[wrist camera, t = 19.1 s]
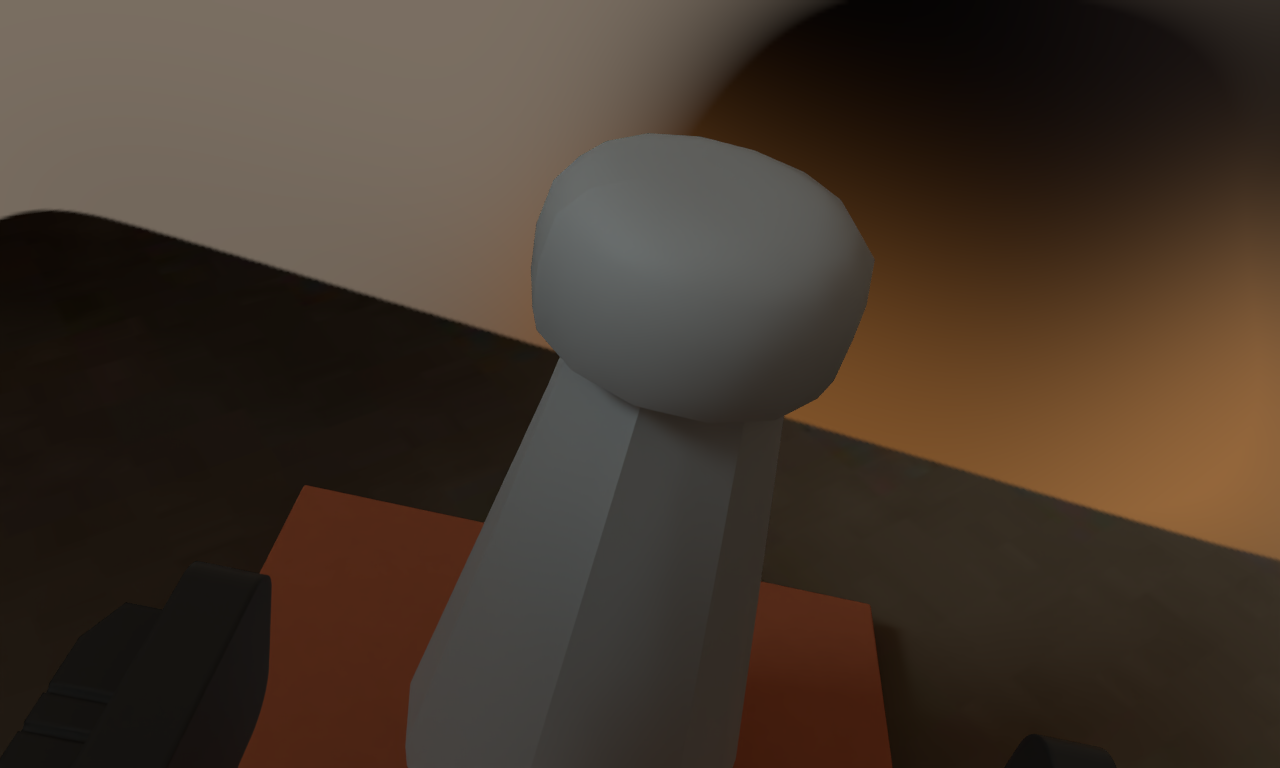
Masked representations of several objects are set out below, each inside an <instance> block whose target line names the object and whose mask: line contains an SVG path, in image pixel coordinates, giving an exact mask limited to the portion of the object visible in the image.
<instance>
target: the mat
mask: <svg viewBox="0 0 1280 768" xmlns="http://www.w3.org/2000/svg"><path fill="white" fill-rule="evenodd" d="M483 525H484V523H482V522H478V521H473V520H468V519H464V518H459V517H454V516H449V515H445V514H440V513H435V512H430V511H426V510H421V509H416V508H412V507H407V506H402V505H397V504H393V503H388V502H383V501H378V500H374V499H369V498H364V497H359V496H355V495H350V494H345V493H341V492H336V491H331V490H326V489H322V488H317V487H312V486H307V485H305V486H304V487H303V488H302V490H301V492H300V494H299V496H298V498H297V500H296V502H295V504H294V506H293V508H292V510H291V512H290V514H289V516H288V518H287V520H286V522H285V524H284V526H283V528H282V530H281V532H280V534H279V536H278V538H277V540H276V542H275V544H274V546H273V548H272V550H271V552H270V554H269V556H268V558H267V560H266V562H265V564H264V566H263V568H262V570H261V572H260V574H264V575H269V576H270V578H271V583H272V596H271V625H270V654H269V675H268V682H267V687H266V692H265V697H264V700H263V704H262V708H261V711H260V714H259V717H258V721H257V723H256V726H255V729H254V731H253V734H252V736H251V738H250V741H249V743H248V745H247V748H246V750H245V752H244V754H243V757H242V759H241V761H240V764H239V766H238V768H408V767H407V761H406V749H405V743H406V731H407V718H408V706H409V693H410V683H411V681H412V678H413V676H414V674H415V672H416V670H417V668H418V665H419V663H420V661H421V659H422V657H423V655H424V652H425V650H426V648H427V646H428V644H429V642H430V639H431V637H432V635H433V633H434V631H435V629H436V627H437V624H438V622H439V620H440V618H441V616H442V614H443V611H444V609H445V607H446V605H447V603H448V601H449V598H450V596H451V594H452V592H453V590H454V588H455V585H456V583H457V581H458V579H459V577H460V575H461V572H462V570H463V568H464V566H465V564H466V562H467V559H468V557H469V555H470V553H471V551H472V549H473V546H474V544H475V542H476V540H477V538H478V536H479V533H480V531H481V529H482V527H483ZM733 768H893V767H892V759H891V752H890V745H889V737H888V730H887V723H886V715H885V708H884V701H883V693H882V686H881V679H880V671H879V664H878V657H877V649H876V642H875V635H874V627H873V620H872V613H871V606H870V605H869V604H865V603H861V602H856V601H851V600H846V599H842V598H837V597H832V596H828V595H823V594H818V593H813V592H809V591H804V590H799V589H794V588H790V587H785V586H780V585H776V584H771V583H766V582H761V583H760V590H759V597H758V604H757V611H756V618H755V625H754V633H753V640H752V647H751V654H750V661H749V668H748V675H747V682H746V689H745V697H744V704H743V711H742V718H741V725H740V732H739V739H738V746H737V753H736V759H735V762H734V765H733Z"/></svg>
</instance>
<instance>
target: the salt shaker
mask: <svg viewBox="0 0 1280 768" xmlns="http://www.w3.org/2000/svg"><path fill="white" fill-rule="evenodd" d="M873 266H874V258H873V256H872V254H871V252H870V251H869V249H868V247H867V245H866V243H865V242H864V240H863V238H862V236H861V234H860V233H859V231H858V229H857V227H856V225H855V224H854V222H853V220H852V219H851V217H850V215H849V213H848V212H847V210H846V208H845V207H844V205H843V203H842V201H841V200H840V199H839V198H837V197H836V196H835V195H834V194H832V193H831V192H830V191H828V190H827V189H826V188H824V187H823V186H822V185H821V184H819V183H818V182H817V181H815V180H814V179H813V178H811V177H810V176H808V175H807V174H806V173H805V172H802V171H800V170H798V169H796V168H793V167H791V166H789V165H786V164H784V163H782V162H779V161H777V160H775V159H773V158H770V157H768V156H766V155H764V154H761V153H759V152H757V151H754V150H750V149H747V148H743V147H739V146H735V145H730V144H727V143H723V142H719V141H715V140H711V139H707V138H703V137H699V136H681V135H664V134H649V133H648V134H642V135H637V136H632V137H626V138H621V139H615V140H610V141H606V142H604V143H602V144H601V145H599V146H597V147H595V148H593V149H592V150H590V151H588V152H586V153H584V154H583V155H581V156H579V157H578V158H577V159H576V160H575V161H574V162H573V163H572V164H571V165H569V166H568V167H567V168H566V169H565V170H564V171H563V172H562V173H561V174H560V175H558V176H557V177H556V178H555V179H554V180H553V183H552V186H551V188H550V190H549V193H548V196H547V198H546V201H545V203H544V206H543V209H542V211H541V213H540V216H539V219H538V221H537V224H536V231H535V240H534V248H533V256H532V265H531V281H532V305H533V306H532V307H533V313H534V318H535V323H536V329H537V331H538V332H539V333H540V334H541V335H542V337H543V338H544V339H545V340H546V341H547V342H548V344H549V345H550V346H551V347H552V348H553V349H554V351H555V352H556V353H557V354H558V355H559V356H560V358H559V360H558V363H557V365H556V368H555V370H554V372H553V375H552V377H551V379H550V382H549V384H548V386H547V388H546V391H545V393H544V395H543V397H542V399H541V401H540V404H539V406H538V408H537V410H536V412H535V414H534V417H533V419H532V421H531V423H530V425H529V427H528V430H527V432H526V434H525V436H524V438H523V440H522V443H521V445H520V447H519V449H518V451H517V453H516V456H515V458H514V460H513V462H512V464H511V466H510V469H509V471H508V473H507V475H506V477H505V479H504V482H503V484H502V486H501V488H500V490H499V492H498V494H497V497H496V499H495V501H494V503H493V505H492V507H491V510H490V512H489V514H488V516H487V518H486V520H485V523H484V525H483V527H482V529H481V531H480V533H479V536H478V538H477V540H476V542H475V544H474V546H473V549H472V551H471V553H470V555H469V557H468V559H467V562H466V564H465V566H464V568H463V570H462V572H461V575H460V577H459V579H458V581H457V583H456V585H455V588H454V590H453V592H452V594H451V596H450V598H449V601H448V603H447V605H446V607H445V609H444V611H443V614H442V616H441V618H440V620H439V622H438V624H437V627H436V629H435V631H434V633H433V635H432V637H431V639H430V642H429V644H428V646H427V648H426V650H425V652H424V655H423V657H422V659H421V661H420V663H419V665H418V668H417V670H416V672H415V674H414V676H413V678H412V681H411V683H410V693H409V706H408V718H407V731H406V743H405V749H406V761H407V767H408V768H733V765H734V762H735V759H736V753H737V746H738V739H739V732H740V725H741V718H742V711H743V704H744V697H745V689H746V682H747V675H748V668H749V661H750V654H751V647H752V640H753V633H754V625H755V618H756V611H757V604H758V597H759V590H760V583H761V576H762V569H763V561H764V554H765V547H766V540H767V533H768V526H769V519H770V512H771V505H772V498H773V490H774V483H775V476H776V469H777V462H778V455H779V448H780V441H781V434H782V426H783V419H784V415H786V414H788V413H790V412H792V411H794V410H796V409H798V408H800V407H802V406H804V405H806V404H808V403H809V402H811V401H813V400H815V399H817V398H818V397H819V396H820V395H821V394H822V393H823V392H824V391H825V390H826V389H827V388H828V386H829V385H830V384H831V383H832V382H833V381H834V379H835V377H836V375H837V373H838V370H839V368H840V366H841V364H842V362H843V360H844V358H845V355H846V353H847V351H848V349H849V347H850V345H851V342H852V340H853V338H854V335H855V333H856V330H857V328H858V325H859V323H860V320H861V318H862V315H863V312H864V310H865V307H866V304H867V299H868V293H869V288H870V282H871V277H872V271H873Z"/></svg>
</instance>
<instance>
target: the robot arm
mask: <svg viewBox="0 0 1280 768" xmlns="http://www.w3.org/2000/svg"><path fill="white" fill-rule="evenodd" d="M271 596H272V583H271V578H270V576H269V575H264V574H259V573H255V572H250V571H245V570H240V569H235V568H230V567H225V566H220V565H215V564H210V563H205V562H200V561H195V562H193V563H192V564H191V565H190V566H189V567H188V568H187V570H186V571H185V573H184V574H183V576H182V577H181V579H180V581H179V582H178V584H177V586H176V588H175V589H174V591H173V593H172V594H171V596H170V598H169V600H168V601H167V603H166V605H165V606H164V608H163V610H162V609H157V608H152V607H147V606H142V605H137V604H132V603H127V602H126V603H125V604H123V605H122V606H121V607H119V608H118V609H117V610H115V611H114V612H113V613H111V614H110V615H109V616H107V617H106V618H105V619H103V620H102V621H101V622H99V623H98V624H97V625H95V626H94V627H93V628H91V629H90V630H89V631H87V632H86V633H85V634H83V635H82V636H81V637H79V638H78V640H77V642H76V643H75V645H74V646H73V648H72V649H71V651H70V652H69V654H68V655H67V657H66V658H65V660H64V661H63V663H62V665H61V666H60V668H59V669H58V671H57V672H56V674H55V675H54V677H53V678H52V680H51V681H50V683H49V688H48V690H47V692H46V693H43V694H42V695H41V697H40V698H39V700H38V701H37V703H36V704H35V706H34V707H33V709H32V711H31V712H30V714H29V715H28V717H27V718H26V720H25V721H24V727H23V729H22V731H21V732H20V731H18V732H17V734H16V735H15V737H14V738H13V740H12V741H11V743H10V744H9V746H8V747H7V749H6V750H5V752H4V753H3V755H2V757H1V758H0V768H238V766H239V764H240V761H241V759H242V757H243V754H244V752H245V750H246V748H247V745H248V743H249V741H250V738H251V736H252V734H253V731H254V729H255V726H256V723H257V721H258V717H259V714H260V711H261V708H262V704H263V700H264V697H265V692H266V687H267V682H268V675H269V654H270V625H271ZM1004 768H1116V765H1115V763H1114V761H1113V759H1112V757H1111V756H1110V754H1109V753H1108V752H1107V751H1106V750H1104V749H1103V748H1100V747H1096V746H1091V745H1086V744H1081V743H1076V742H1071V741H1066V740H1061V739H1056V738H1052V737H1047V736H1042V735H1037V734H1030V735H1028V736H1026V737H1025V738H1024V739H1023V740H1022V741H1021V743H1020V744H1019V746H1018V747H1017V749H1016V750H1015V752H1014V753H1013V755H1012V756H1011V758H1010V760H1009V761H1008V763H1007V764H1006V766H1005V767H1004Z"/></svg>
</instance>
